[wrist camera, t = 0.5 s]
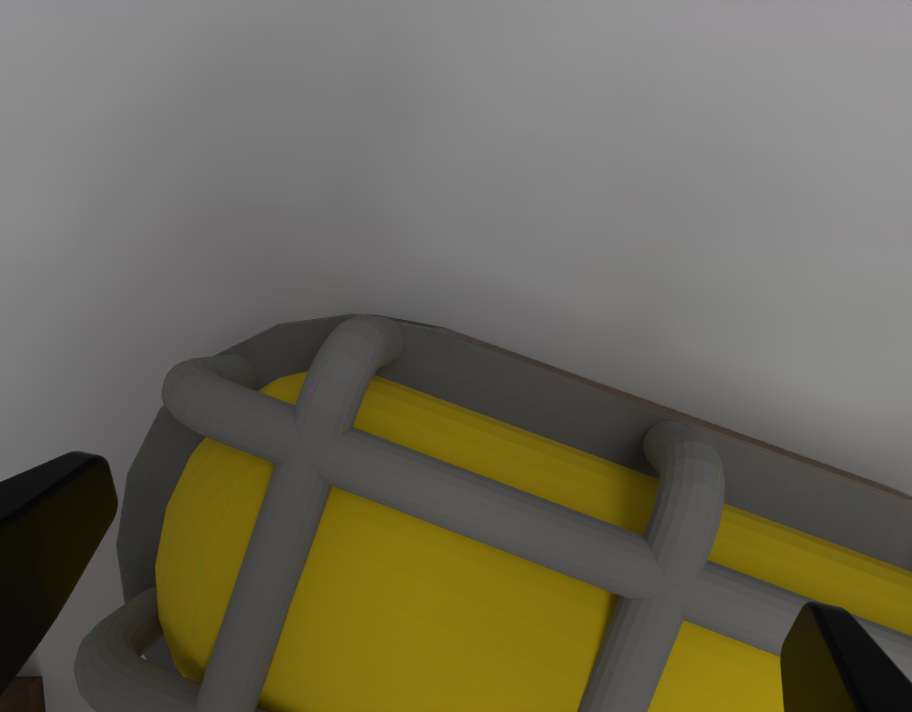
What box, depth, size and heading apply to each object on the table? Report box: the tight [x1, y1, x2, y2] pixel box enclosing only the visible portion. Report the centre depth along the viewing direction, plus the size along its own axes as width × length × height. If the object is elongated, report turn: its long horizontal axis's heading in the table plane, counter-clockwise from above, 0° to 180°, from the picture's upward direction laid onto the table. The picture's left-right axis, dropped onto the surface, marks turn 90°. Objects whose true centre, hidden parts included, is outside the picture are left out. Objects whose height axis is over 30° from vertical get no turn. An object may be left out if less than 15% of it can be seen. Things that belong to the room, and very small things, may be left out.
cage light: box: [74, 314, 912, 712], centre depth 19 cm, size 15×8×30 cm
